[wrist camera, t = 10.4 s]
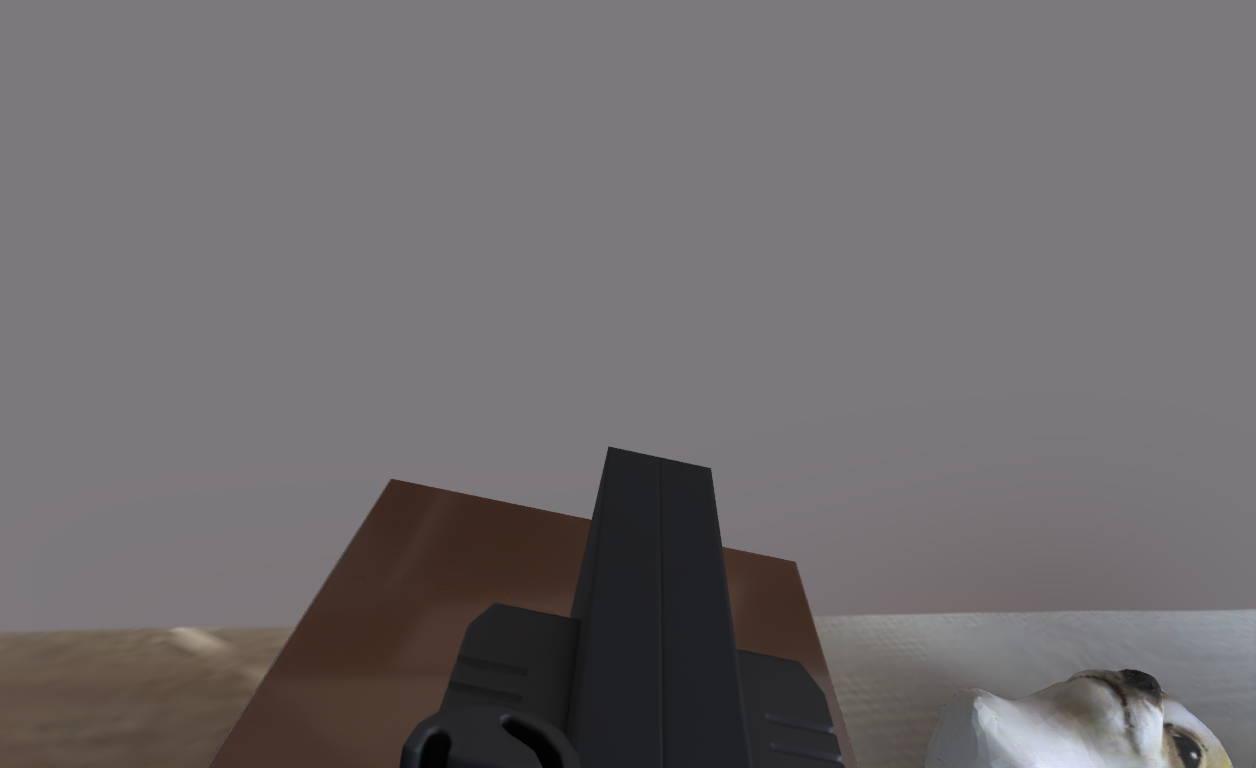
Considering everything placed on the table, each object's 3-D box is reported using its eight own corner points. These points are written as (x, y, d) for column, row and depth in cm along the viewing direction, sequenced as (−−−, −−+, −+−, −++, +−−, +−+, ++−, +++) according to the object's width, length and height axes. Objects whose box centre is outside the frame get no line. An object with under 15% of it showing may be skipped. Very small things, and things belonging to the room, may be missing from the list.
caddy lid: (386, 500, 28) (390, 477, 28) (789, 583, 29) (796, 561, 29) (139, 902, 15) (142, 863, 14) (916, 1043, 15) (932, 1008, 15)
